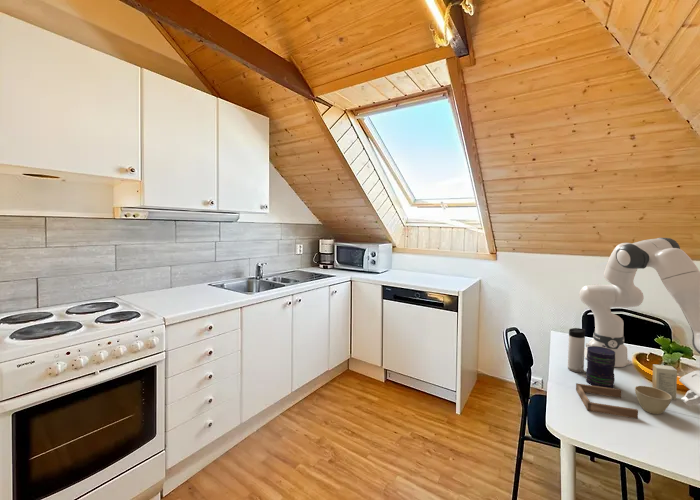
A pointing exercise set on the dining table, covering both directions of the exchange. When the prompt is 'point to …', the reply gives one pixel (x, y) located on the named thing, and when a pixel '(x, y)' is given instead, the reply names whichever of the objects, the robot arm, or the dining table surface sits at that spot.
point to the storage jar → (600, 366)
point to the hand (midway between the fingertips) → (684, 402)
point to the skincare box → (665, 379)
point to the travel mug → (576, 350)
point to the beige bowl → (652, 399)
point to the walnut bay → (603, 407)
